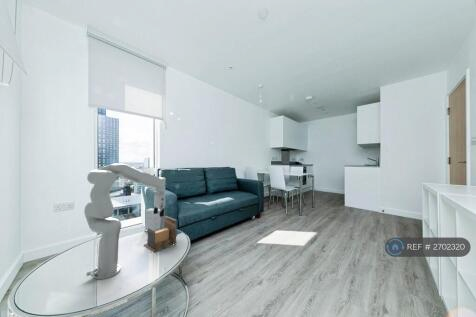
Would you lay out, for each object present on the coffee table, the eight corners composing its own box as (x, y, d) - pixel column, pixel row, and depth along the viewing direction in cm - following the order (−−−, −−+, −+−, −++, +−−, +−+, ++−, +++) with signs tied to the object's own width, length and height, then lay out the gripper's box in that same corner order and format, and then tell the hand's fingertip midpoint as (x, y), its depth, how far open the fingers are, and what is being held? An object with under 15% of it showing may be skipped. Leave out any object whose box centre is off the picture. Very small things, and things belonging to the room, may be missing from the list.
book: (154, 247, 133) (154, 233, 133) (151, 245, 136) (152, 232, 136) (168, 241, 143) (169, 229, 143) (166, 240, 145) (166, 228, 145)
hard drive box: (164, 229, 169) (165, 208, 169) (160, 233, 161) (161, 211, 162) (149, 228, 171) (150, 208, 171) (144, 231, 163) (145, 210, 163)
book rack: (154, 252, 127) (155, 226, 127) (143, 245, 137) (144, 220, 137) (176, 244, 141) (177, 220, 142) (165, 238, 151) (166, 215, 152)
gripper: (169, 194, 138) (168, 216, 137) (159, 191, 149) (158, 211, 148) (160, 195, 132) (159, 218, 131) (150, 192, 143) (148, 213, 142)
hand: (158, 214), depth 140 cm, fingers open, 9 cm apart
